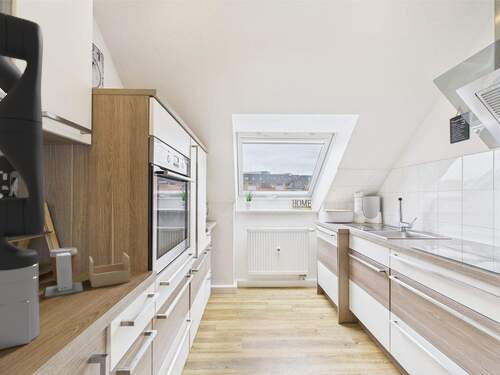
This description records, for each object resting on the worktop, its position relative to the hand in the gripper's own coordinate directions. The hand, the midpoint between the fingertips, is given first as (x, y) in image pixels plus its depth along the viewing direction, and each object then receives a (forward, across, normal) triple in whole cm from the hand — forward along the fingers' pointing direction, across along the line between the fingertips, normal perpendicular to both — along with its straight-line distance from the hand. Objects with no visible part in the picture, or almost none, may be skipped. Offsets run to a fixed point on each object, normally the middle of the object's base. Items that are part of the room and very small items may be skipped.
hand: (9, 208), depth 93 cm
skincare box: (+29, -8, +14) cm, 33 cm away
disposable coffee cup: (+30, -23, +14) cm, 40 cm away
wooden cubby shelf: (+30, -12, +29) cm, 43 cm away
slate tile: (+30, -8, +14) cm, 34 cm away
